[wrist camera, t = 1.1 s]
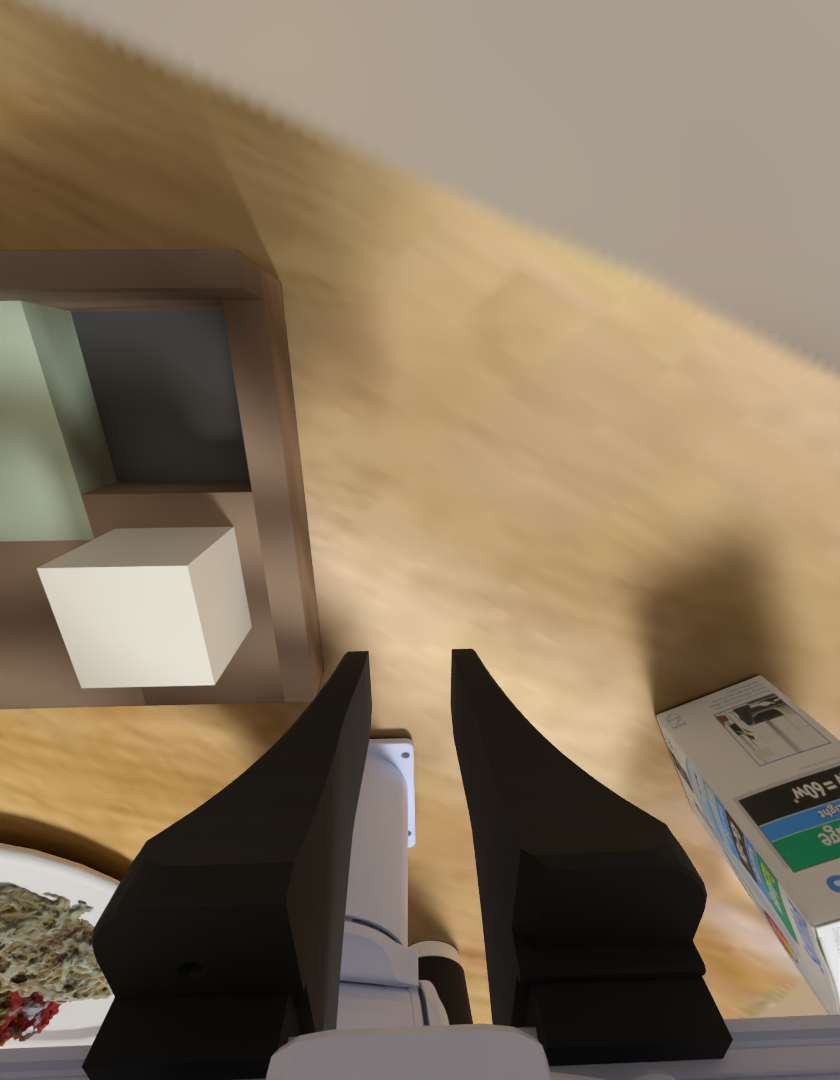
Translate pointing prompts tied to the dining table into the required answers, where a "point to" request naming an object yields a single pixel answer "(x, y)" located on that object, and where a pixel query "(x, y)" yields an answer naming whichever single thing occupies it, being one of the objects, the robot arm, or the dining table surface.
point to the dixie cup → (445, 978)
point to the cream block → (150, 606)
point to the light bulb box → (770, 813)
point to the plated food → (50, 950)
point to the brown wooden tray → (150, 453)
